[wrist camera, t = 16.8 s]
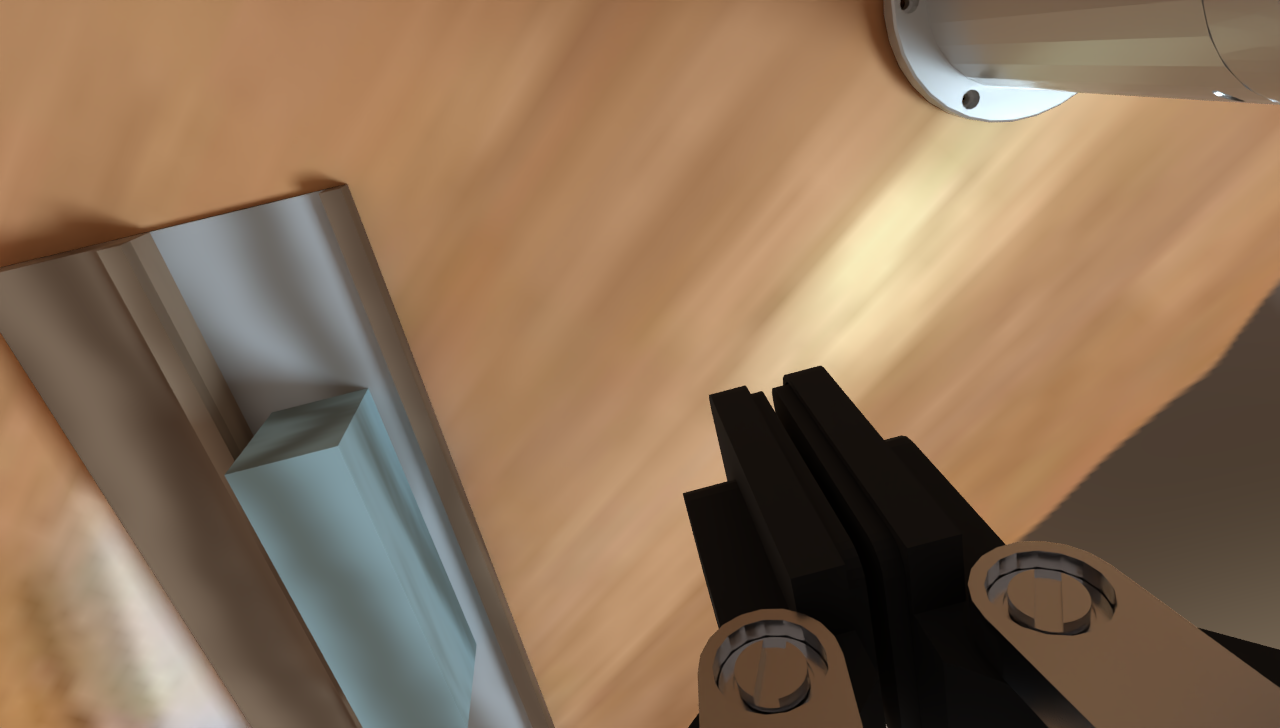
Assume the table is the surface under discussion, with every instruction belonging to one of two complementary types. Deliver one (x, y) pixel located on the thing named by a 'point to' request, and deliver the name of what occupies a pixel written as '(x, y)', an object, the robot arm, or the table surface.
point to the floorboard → (247, 428)
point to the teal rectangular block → (359, 561)
